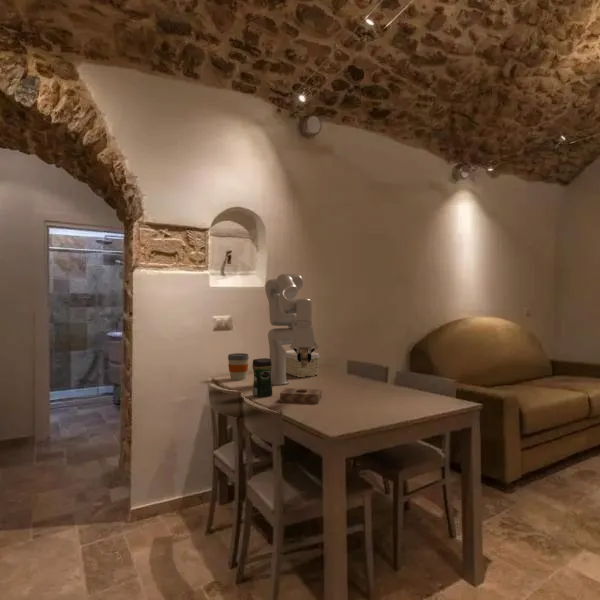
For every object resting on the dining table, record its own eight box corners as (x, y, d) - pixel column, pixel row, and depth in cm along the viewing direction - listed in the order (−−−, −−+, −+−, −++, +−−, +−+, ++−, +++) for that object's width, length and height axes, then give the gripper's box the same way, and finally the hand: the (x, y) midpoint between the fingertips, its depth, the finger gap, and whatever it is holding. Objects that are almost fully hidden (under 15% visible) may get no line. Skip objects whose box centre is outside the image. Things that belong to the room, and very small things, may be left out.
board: (280, 401, 202) (280, 393, 202) (285, 396, 214) (285, 388, 214) (318, 403, 198) (318, 394, 198) (321, 397, 210) (321, 389, 210)
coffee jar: (267, 393, 222) (267, 356, 222) (274, 395, 215) (274, 358, 215) (250, 395, 217) (250, 358, 217) (256, 398, 210) (256, 360, 210)
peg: (299, 367, 207) (299, 347, 207) (301, 366, 211) (300, 346, 211) (307, 368, 206) (307, 347, 207) (309, 366, 210) (308, 346, 211)
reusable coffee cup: (224, 380, 257) (224, 355, 257) (232, 377, 270) (232, 353, 270) (244, 381, 255) (244, 356, 255) (251, 377, 267) (251, 353, 267)
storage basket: (320, 376, 272) (320, 353, 272) (297, 378, 264) (297, 354, 264) (301, 371, 293) (301, 349, 293) (280, 373, 285) (280, 350, 285)
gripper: (285, 324, 207) (285, 362, 206) (320, 324, 204) (320, 363, 204) (288, 323, 214) (288, 360, 214) (322, 323, 211) (322, 361, 211)
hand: (304, 361), depth 209 cm, fingers closed on peg, 4 cm apart
